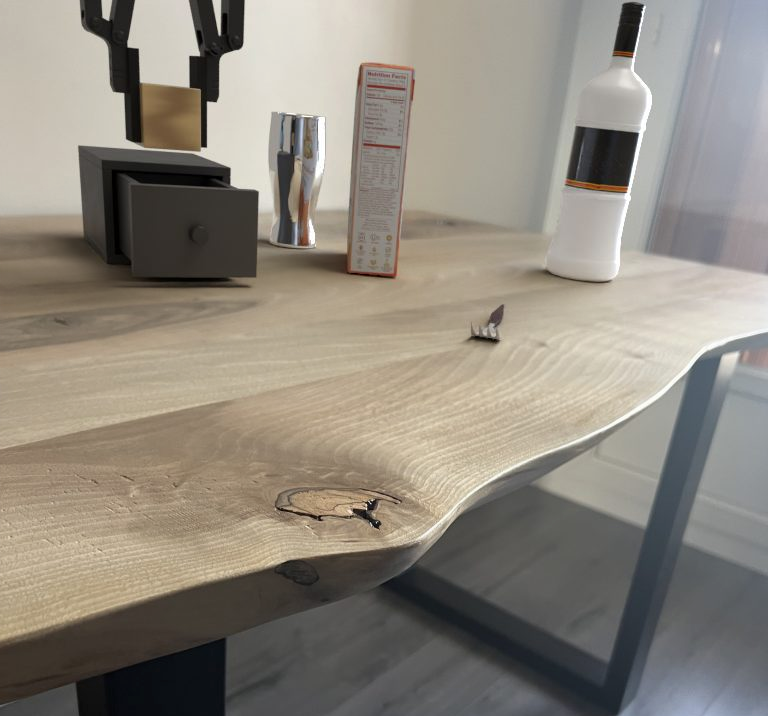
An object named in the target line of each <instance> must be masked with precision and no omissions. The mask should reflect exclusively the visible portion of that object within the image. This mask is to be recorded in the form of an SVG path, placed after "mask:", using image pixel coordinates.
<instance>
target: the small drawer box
mask: <svg viewBox="0 0 768 716" xmlns="http://www.w3.org/2000/svg"><path fill="white" fill-rule="evenodd" d="M77 152H78V153H77V154H78V167H79V183H80V184H79V185H80V198H81V212H82V213H81V214H82V216H81V217H82V229H83V238H84V239H85V240H86V242H87V243H88V244H89V245H90V246H91V247H92V248H93V250H94V251H95V252H96V253H97V254H98V255H99V256H100V258H101V259H102V260H103V261H104V262H105V263H106V264H108V265H131V260H130V259H129V258H128V257H127V256H126V255H125V254H124V253H123V252H122V251H121V250H120V249H119V248H118V247H117V246H116V245H115V228H114V207H113V186H112V170H116V171H132V172H149V173H166V174H183V175H200V176H210V177H213V178H215V179H217V180H220V181H222V182H224V183H227V184H229V185H231V182H232V181H231V179H232V178H231V177H232V168H231V167H230V166H227V165H224V164H222V163H219V162H217V161H214V160H211V159H208V158H206V157H204V156H200V155H198V154H195V153H193V152H192V153H191V152H180V151H179V152H178V151H166V150H165V151H164V150H163V151H162V150H149V149H135V148H122V147H109V146H93V145H80V144H79V145H77ZM231 186H232V185H231Z"/></svg>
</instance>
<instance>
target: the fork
mask: <svg viewBox="0 0 768 716" xmlns="http://www.w3.org/2000/svg"><path fill="white" fill-rule="evenodd" d="M504 309H505V304H503V303H502V304H500V305H499V306H498V307H497V308H495V309H494V310H493V311H492V313H491V314H490V317H489V324H487V326H485V328H482V324H481V323H479V327H478V332H479V334H476V331H475V328H474V324H473V322H472V321H471V322H470V335H471V336H472V335H474V336H473V337H475V336H480V337H479V338H482V337H487V338H486V339H488V338H493V339H492V340H494V339H501V340H502V338H501V336H500V333H499V326H498V325H499V323H501V322H502V321H503V319H504V311H505V310H504ZM494 327H495V329H494ZM483 332H486V333H487V335H484V334H483ZM491 333H493V334H494V333H496V336H495V337H494V336H492V335H491Z"/></svg>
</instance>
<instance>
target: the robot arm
mask: <svg viewBox="0 0 768 716" xmlns="http://www.w3.org/2000/svg"><path fill="white" fill-rule="evenodd" d="M102 3H103V1H102V0H79V9H80V10H79V12H80V24H81V27H82V28H83V30H84V31H86V32H87V33H90V34H92V35H94V36H96V37H98V38H100V39H102V41H104V42H105V44H106V47H107V50H108V51H107V52H108V69H109V70H108V75H109V86H110V88H111V90H112V92H113V93H118V94H123V100H124V101H123V102H124V127H125V140H126V141H128V142H130V143H134V142H136V143H141V116H140V87H139V84H140V82H141V73H140V71H141V70H140V48H137V47H130V46H129V45H128V41H129V38H130V33H131V26H132V21H133V16H134V9H135V3H136V0H111V5H110V10H109V11H110V12H109V18H108V19H106V18H104V17H103V4H102ZM188 3H189V9H190V14H191V18H192V19H191V20H192V23H193V29H194V34H195V40H196V44H197V49H198V51H199V55H189V56H188V74H189V75H188V77H189V78H188V80H189V85H188V88H196V89H200V90H201V149H202V148H205V149H207V148H208V103H218V100H219V98H220V61H221V59H222V57H223V56H224V55H225V54H229V53H231V52H235V51H239V50H241V49H242V48H243V47H244V44H245V43H244V41H245V10H246V9H245V7H246V0H220V35H219V29H218V23H217V19H216V18H217V17H216V12H215V7H214V1H213V0H188Z"/></svg>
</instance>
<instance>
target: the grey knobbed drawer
mask: <svg viewBox="0 0 768 716" xmlns="http://www.w3.org/2000/svg"><path fill="white" fill-rule="evenodd" d="M112 186H113V207H114V228H115V245H116V246H117V247H118V248H119V249H120V250H121V251H122V252H123V253H124V254H125V255H126V256H127V257H128V258H129V259H130V260H131V264H130V265H131V276H133V277H134V278H235V279H236V278H240V279H241V278H246V279H250V278H252V279H253V278H254V279H255V278H257V276H258V275H257V273H258V239H259V237H258V236H259V235H258V234H259V204H260V199H259V198H260V191H259V190H256V189H254V188H252V189H251V188H238V187H236V186H234V185H229V184H227V183H224V182H222V181H220V180H217V179H215V178H213V177H210V176H200V175H183V174H166V173H149V172H132V171H116V170H112Z"/></svg>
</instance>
